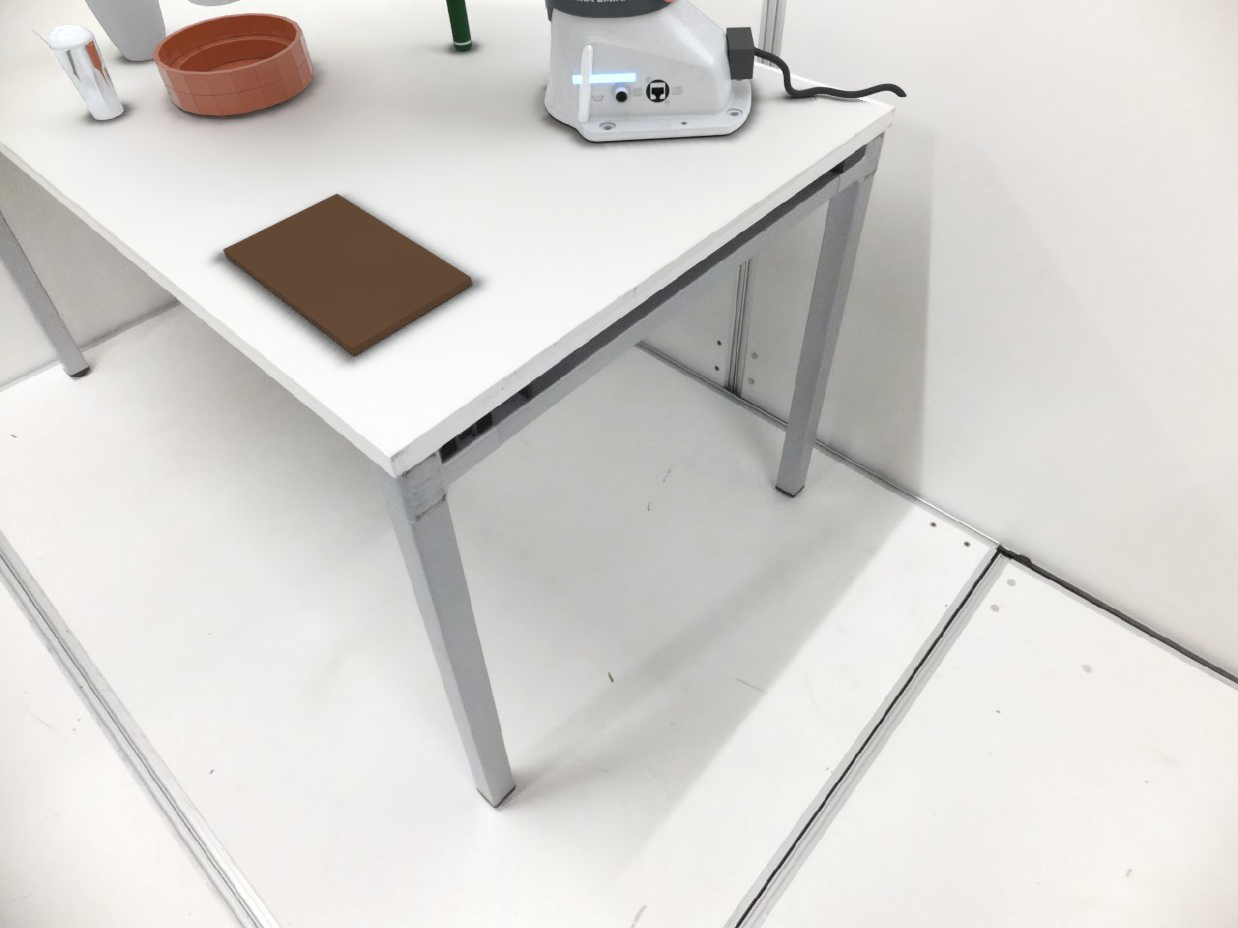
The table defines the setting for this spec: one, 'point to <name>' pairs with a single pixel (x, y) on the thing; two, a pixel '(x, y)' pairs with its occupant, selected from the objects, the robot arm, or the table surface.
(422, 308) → the mat
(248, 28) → the bowl
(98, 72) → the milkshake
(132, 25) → the cup
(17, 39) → the table surface
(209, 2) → the supplement bottle
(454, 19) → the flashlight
